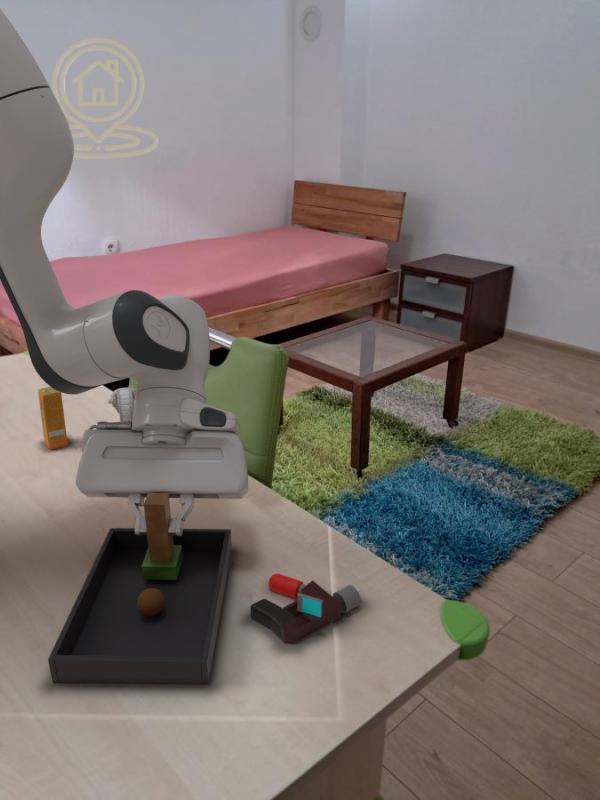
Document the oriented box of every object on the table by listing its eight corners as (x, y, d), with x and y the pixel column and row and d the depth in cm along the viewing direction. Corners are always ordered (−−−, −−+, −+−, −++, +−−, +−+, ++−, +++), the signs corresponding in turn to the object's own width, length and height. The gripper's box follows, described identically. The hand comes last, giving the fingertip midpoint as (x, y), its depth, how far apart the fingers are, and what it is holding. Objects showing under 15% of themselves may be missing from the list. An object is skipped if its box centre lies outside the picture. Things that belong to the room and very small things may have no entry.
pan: (53, 687, 62) (47, 659, 60) (113, 550, 81) (110, 527, 80) (208, 688, 62) (206, 661, 60) (231, 552, 81) (230, 529, 79)
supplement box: (70, 445, 107) (62, 391, 103) (49, 451, 105) (40, 396, 101) (65, 438, 109) (56, 384, 105) (44, 443, 107) (34, 389, 103)
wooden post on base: (143, 579, 74) (134, 508, 70) (150, 558, 78) (142, 488, 74) (177, 580, 74) (170, 508, 70) (182, 558, 78) (177, 489, 74)
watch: (147, 438, 109) (141, 379, 105) (149, 460, 102) (142, 398, 98) (113, 442, 108) (106, 382, 104) (113, 465, 101) (105, 402, 96)
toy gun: (370, 607, 72) (372, 573, 70) (286, 658, 65) (286, 621, 63) (316, 564, 79) (316, 532, 77) (235, 605, 72) (233, 571, 70)
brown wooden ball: (135, 622, 69) (132, 601, 68) (141, 603, 72) (139, 582, 70) (163, 622, 69) (160, 601, 68) (168, 603, 72) (166, 582, 70)
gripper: (76, 412, 75) (59, 529, 70) (248, 414, 75) (243, 531, 70) (93, 429, 81) (78, 538, 76) (252, 431, 81) (247, 540, 76)
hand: (158, 535), depth 73 cm, fingers closed on wooden post on base, 2 cm apart
